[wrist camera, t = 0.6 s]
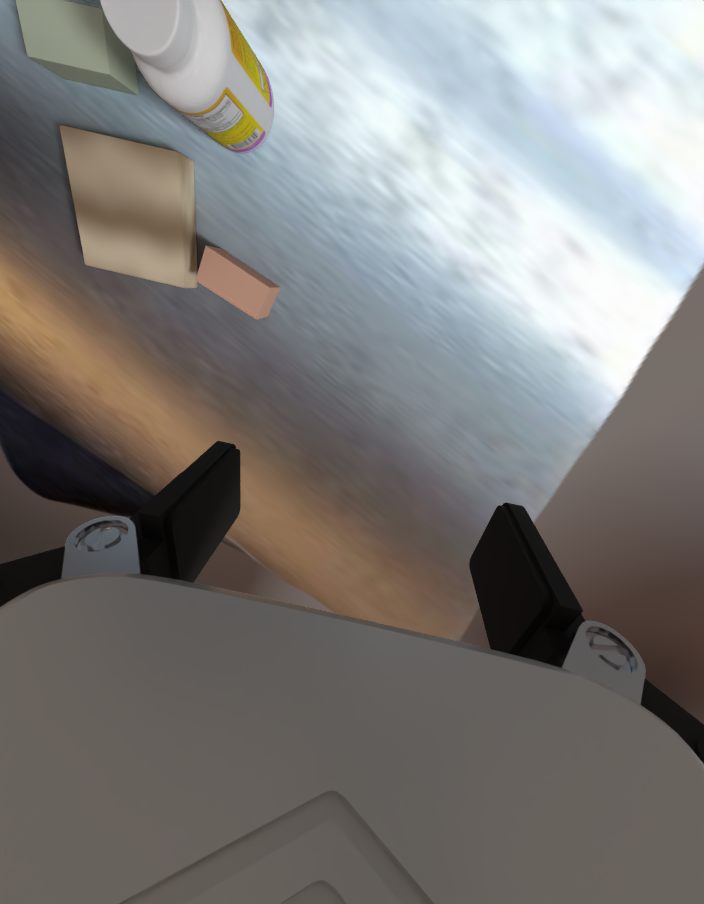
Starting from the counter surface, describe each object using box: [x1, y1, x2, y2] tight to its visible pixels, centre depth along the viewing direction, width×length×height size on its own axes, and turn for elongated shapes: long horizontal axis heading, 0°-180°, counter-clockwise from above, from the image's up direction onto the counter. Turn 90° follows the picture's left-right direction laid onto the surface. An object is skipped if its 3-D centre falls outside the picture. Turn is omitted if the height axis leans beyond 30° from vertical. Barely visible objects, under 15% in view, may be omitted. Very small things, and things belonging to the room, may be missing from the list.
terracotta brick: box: [196, 246, 280, 320], centre depth 33 cm, size 7×4×4 cm, turn 59°
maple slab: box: [59, 125, 198, 288], centre depth 32 cm, size 11×11×2 cm
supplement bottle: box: [100, 0, 274, 153], centre depth 22 cm, size 7×7×13 cm
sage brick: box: [16, 0, 139, 96], centre depth 26 cm, size 7×4×4 cm, turn 79°
